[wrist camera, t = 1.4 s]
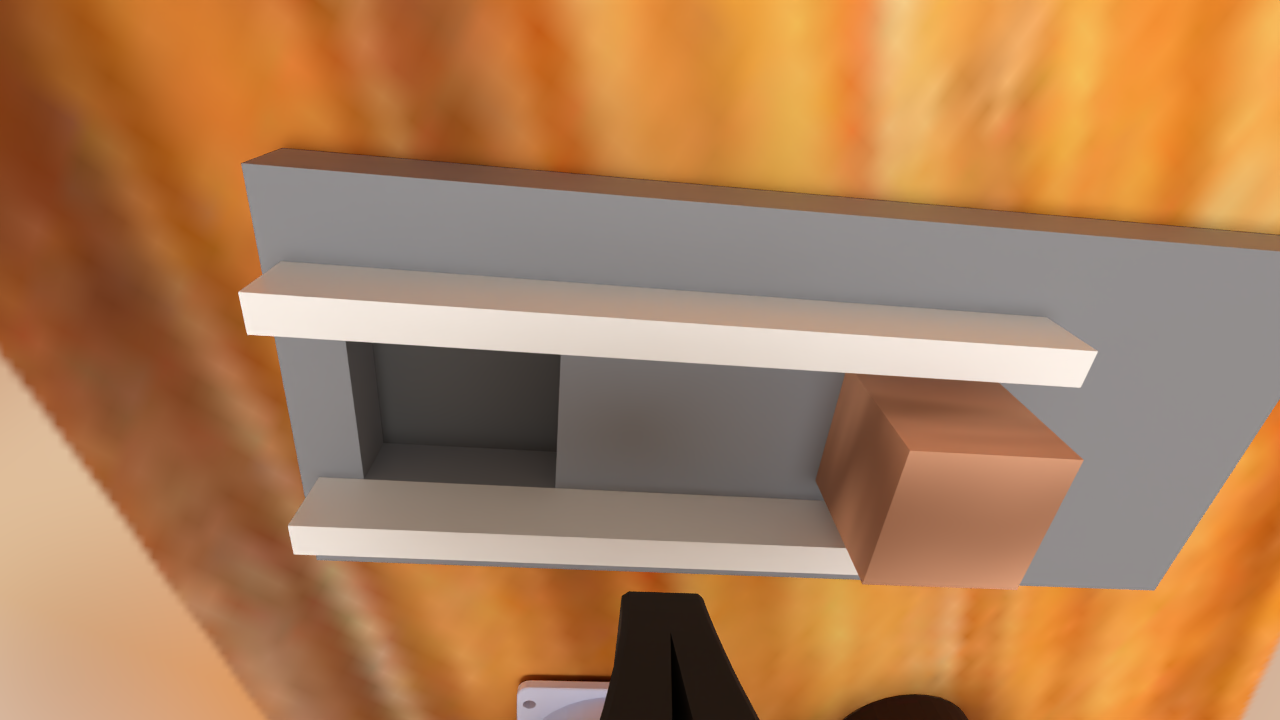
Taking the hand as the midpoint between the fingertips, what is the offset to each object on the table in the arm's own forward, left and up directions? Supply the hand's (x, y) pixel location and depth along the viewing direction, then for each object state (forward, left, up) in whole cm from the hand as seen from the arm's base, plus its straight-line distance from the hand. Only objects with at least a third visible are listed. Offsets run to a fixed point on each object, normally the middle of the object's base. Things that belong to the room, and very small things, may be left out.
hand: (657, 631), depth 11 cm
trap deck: (0, -5, -9) cm, 10 cm away
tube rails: (0, -1, -7) cm, 7 cm away
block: (0, -8, -7) cm, 10 cm away
